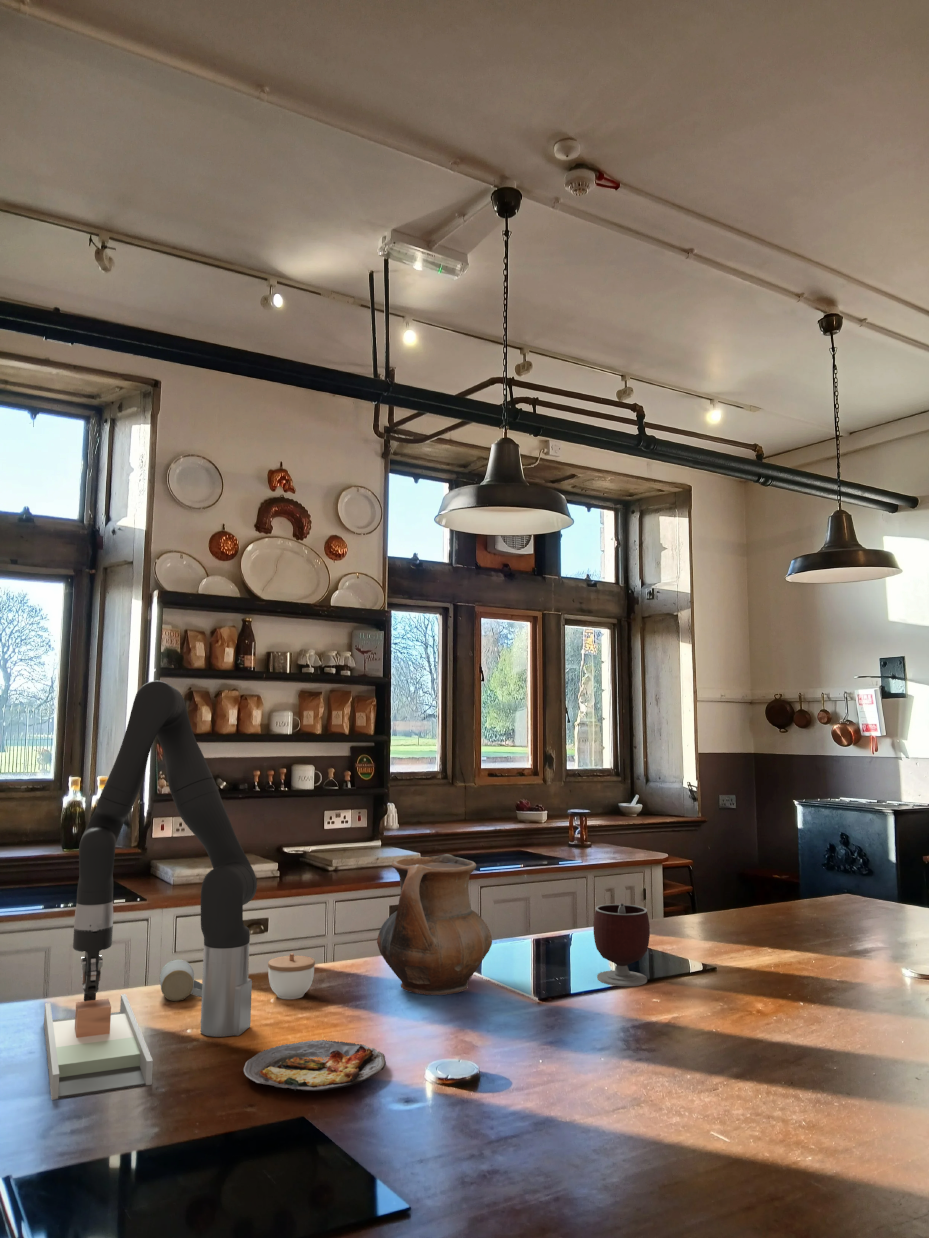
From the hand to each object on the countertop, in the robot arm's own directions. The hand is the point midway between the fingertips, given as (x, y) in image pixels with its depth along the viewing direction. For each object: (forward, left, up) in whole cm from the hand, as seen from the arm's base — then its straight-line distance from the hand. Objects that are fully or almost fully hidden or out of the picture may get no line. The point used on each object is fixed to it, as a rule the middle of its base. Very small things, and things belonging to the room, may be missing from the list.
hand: (89, 1011), depth 190 cm
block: (-6, +8, -1) cm, 10 cm away
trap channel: (-8, +11, -4) cm, 14 cm away
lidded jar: (-32, -31, -4) cm, 45 cm away
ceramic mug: (-8, -25, -4) cm, 27 cm away
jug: (-63, -46, -4) cm, 78 cm away
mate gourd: (-108, -59, -4) cm, 123 cm away
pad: (-13, +18, -4) cm, 22 cm away
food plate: (-53, +14, -4) cm, 56 cm away
